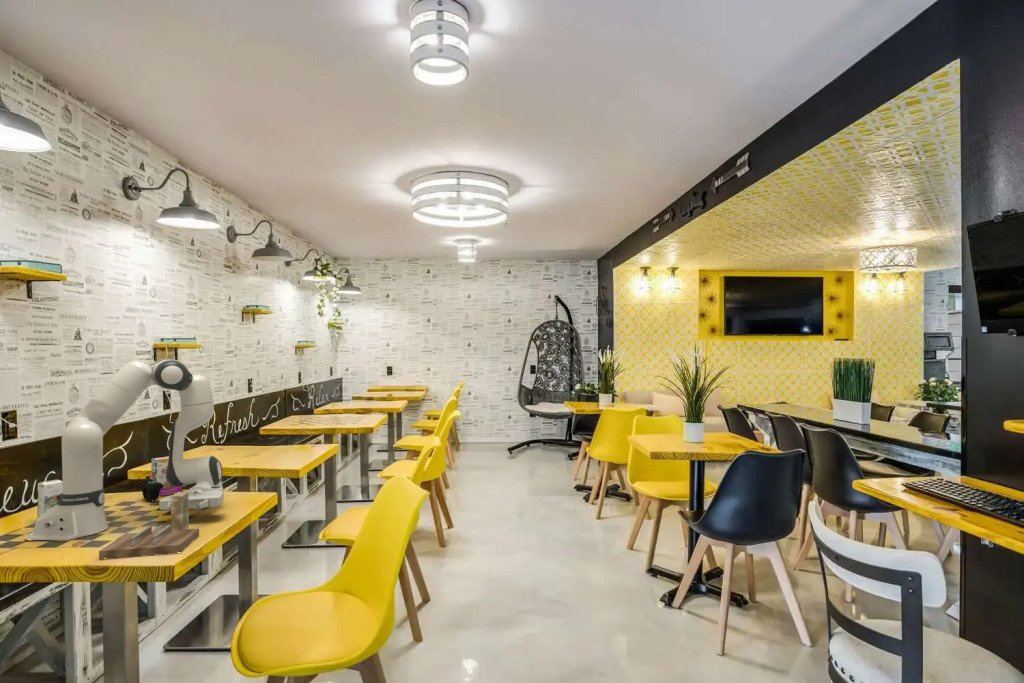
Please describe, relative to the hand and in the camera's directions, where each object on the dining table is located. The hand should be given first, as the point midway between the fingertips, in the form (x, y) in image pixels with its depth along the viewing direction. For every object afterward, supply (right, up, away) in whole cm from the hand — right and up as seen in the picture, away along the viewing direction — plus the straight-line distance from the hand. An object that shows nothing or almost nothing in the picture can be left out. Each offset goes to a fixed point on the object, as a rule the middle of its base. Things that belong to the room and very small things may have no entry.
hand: (184, 507), depth 190 cm
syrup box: (-57, -9, +12) cm, 59 cm away
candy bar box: (-36, -9, +47) cm, 60 cm away
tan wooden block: (+1, -7, -4) cm, 8 cm away
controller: (-36, -9, +37) cm, 52 cm away
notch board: (+1, -7, -18) cm, 19 cm away
